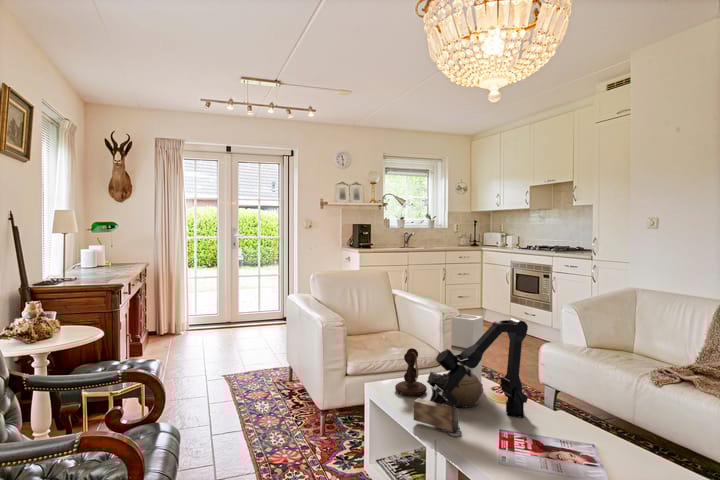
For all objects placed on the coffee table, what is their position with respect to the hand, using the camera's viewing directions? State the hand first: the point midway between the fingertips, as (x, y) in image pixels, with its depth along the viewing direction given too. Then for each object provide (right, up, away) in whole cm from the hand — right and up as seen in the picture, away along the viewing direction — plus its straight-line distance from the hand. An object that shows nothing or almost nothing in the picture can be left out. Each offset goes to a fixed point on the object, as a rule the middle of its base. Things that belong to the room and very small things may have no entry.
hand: (428, 408), depth 172 cm
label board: (+6, -6, +3) cm, 9 cm away
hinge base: (+9, -6, -9) cm, 14 cm away
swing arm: (+2, -4, -5) cm, 7 cm away
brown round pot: (+17, -6, +22) cm, 28 cm away
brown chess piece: (-3, -6, +34) cm, 35 cm away
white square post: (+25, -6, +39) cm, 47 cm away
